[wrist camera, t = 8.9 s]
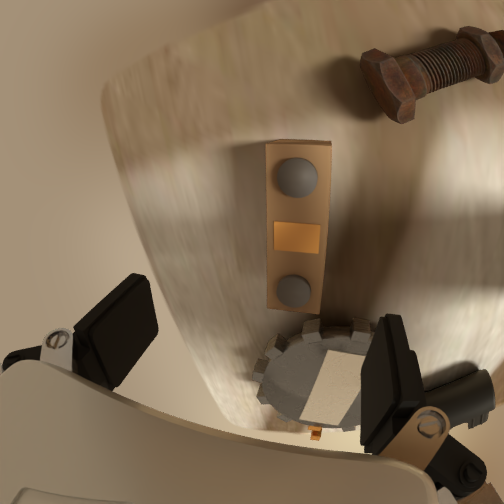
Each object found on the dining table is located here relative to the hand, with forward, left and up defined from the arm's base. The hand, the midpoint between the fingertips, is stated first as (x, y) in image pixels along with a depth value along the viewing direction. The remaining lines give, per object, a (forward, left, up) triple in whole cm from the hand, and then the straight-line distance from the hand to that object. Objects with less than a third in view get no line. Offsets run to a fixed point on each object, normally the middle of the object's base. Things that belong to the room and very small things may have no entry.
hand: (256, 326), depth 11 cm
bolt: (-12, -14, -15) cm, 24 cm away
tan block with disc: (0, 0, -15) cm, 15 cm away
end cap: (-23, +20, -15) cm, 34 cm away
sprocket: (-6, +18, -13) cm, 23 cm away
